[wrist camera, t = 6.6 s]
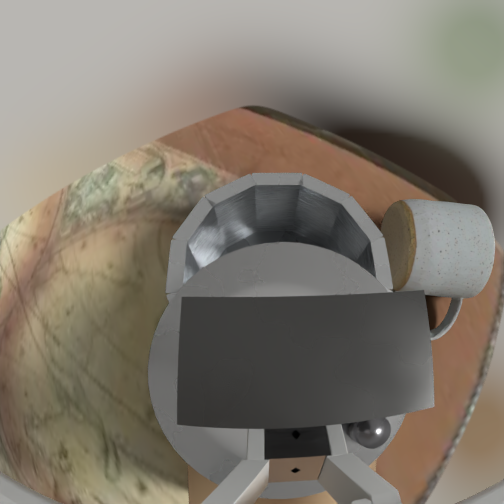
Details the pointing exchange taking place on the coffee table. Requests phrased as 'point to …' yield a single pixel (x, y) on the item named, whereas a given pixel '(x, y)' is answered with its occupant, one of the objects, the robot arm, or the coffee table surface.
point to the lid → (286, 357)
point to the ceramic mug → (439, 251)
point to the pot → (275, 225)
